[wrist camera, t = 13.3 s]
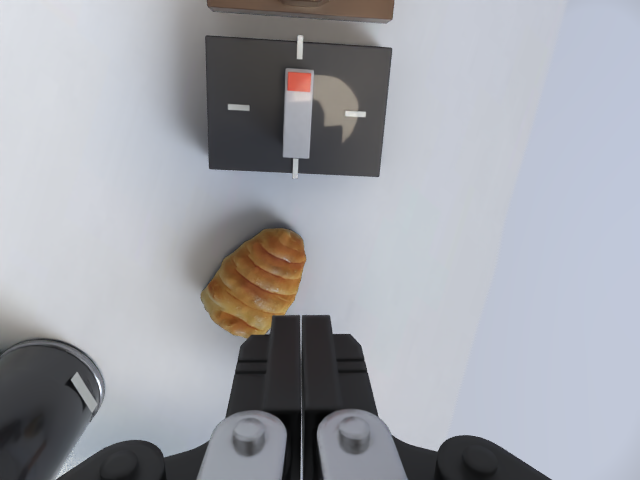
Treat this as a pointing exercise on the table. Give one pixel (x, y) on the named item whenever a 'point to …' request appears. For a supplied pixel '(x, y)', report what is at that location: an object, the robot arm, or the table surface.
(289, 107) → the grey block red tab
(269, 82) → the panel
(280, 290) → the pastry
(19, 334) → the table surface
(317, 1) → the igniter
